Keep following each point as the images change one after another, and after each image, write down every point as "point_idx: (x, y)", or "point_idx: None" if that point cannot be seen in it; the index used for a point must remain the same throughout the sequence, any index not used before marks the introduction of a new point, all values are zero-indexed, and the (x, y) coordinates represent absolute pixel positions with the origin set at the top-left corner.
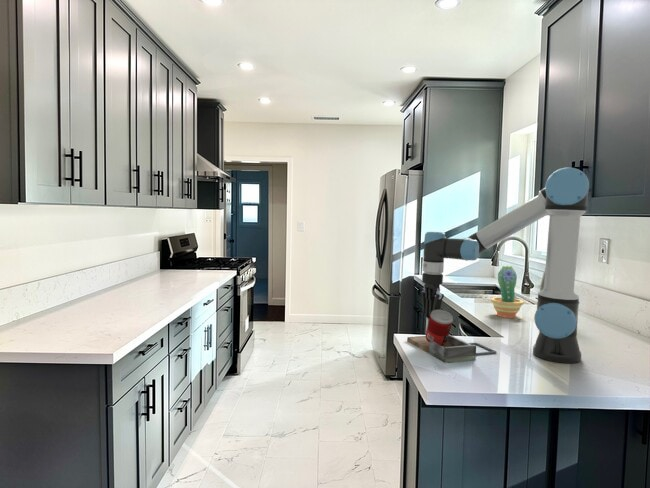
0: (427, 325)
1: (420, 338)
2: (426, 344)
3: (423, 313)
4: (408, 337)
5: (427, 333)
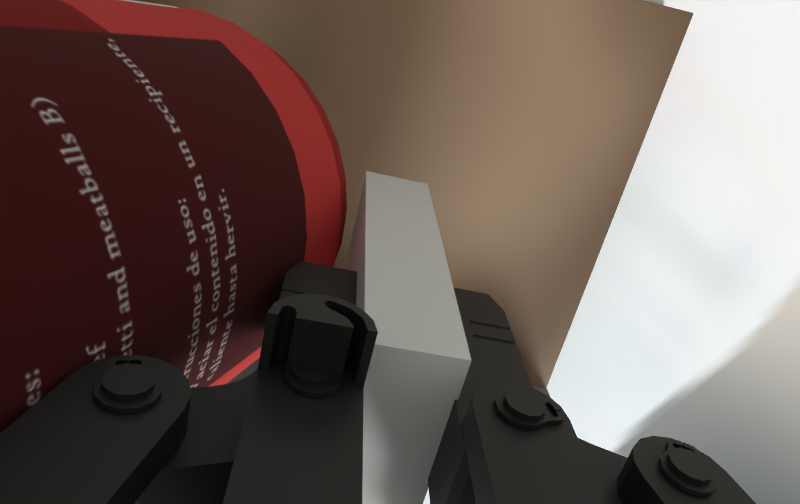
0: (376, 242)
1: (524, 153)
2: (229, 5)
3: (669, 442)
4: (668, 14)
5: (139, 7)
